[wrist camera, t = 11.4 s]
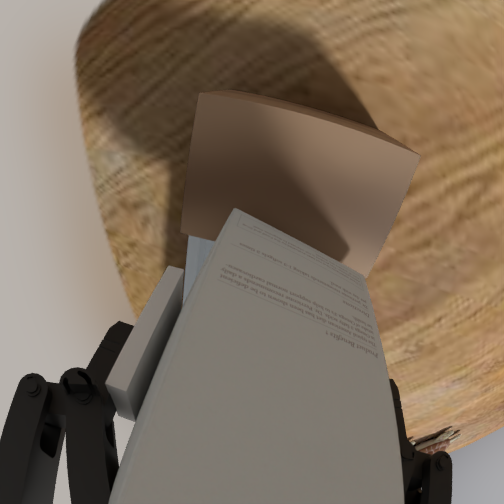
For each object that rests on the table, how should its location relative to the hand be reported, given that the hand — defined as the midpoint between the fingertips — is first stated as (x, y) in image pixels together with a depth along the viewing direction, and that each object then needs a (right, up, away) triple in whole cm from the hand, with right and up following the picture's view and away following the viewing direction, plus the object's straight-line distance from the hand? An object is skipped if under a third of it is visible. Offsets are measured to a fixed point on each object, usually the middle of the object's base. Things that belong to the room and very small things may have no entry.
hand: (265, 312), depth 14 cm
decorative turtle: (+37, -38, +31) cm, 61 cm away
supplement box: (0, +1, +1) cm, 2 cm away
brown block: (+2, +9, +5) cm, 11 cm away
